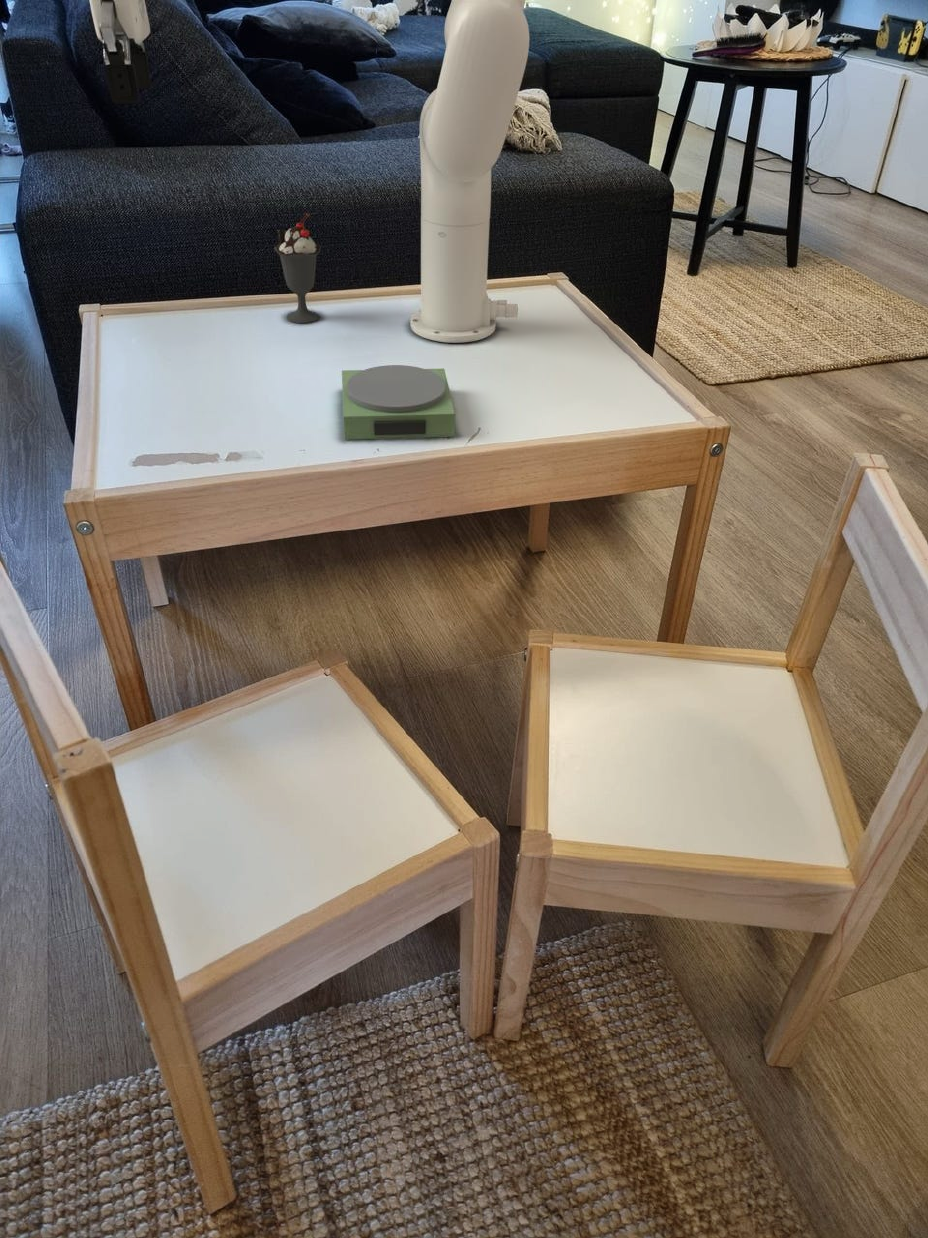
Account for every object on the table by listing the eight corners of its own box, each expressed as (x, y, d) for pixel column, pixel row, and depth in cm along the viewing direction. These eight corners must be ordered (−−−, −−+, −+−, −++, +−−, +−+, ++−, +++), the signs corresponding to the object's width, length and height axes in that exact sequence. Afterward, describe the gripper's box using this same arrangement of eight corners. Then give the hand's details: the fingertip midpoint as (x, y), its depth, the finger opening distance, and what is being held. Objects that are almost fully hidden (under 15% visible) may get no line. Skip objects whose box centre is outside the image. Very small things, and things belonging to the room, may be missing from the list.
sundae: (329, 323, 136) (323, 216, 127) (284, 327, 134) (273, 219, 125) (322, 308, 141) (315, 204, 132) (278, 311, 139) (267, 206, 130)
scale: (443, 390, 119) (444, 362, 117) (455, 438, 109) (456, 409, 106) (343, 392, 118) (341, 364, 115) (344, 441, 107) (343, 411, 105)
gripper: (123, -75, 97) (154, 108, 108) (147, -80, 111) (172, 83, 121) (49, -76, 96) (88, 108, 107) (82, -81, 110) (113, 83, 120)
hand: (132, 95), depth 114 cm, fingers open, 9 cm apart
